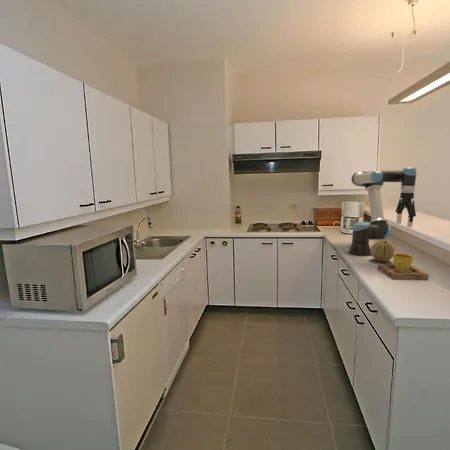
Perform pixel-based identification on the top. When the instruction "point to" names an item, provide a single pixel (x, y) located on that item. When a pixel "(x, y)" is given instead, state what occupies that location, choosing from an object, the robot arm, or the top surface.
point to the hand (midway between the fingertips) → (404, 225)
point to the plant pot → (402, 262)
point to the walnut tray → (411, 274)
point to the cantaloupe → (382, 251)
